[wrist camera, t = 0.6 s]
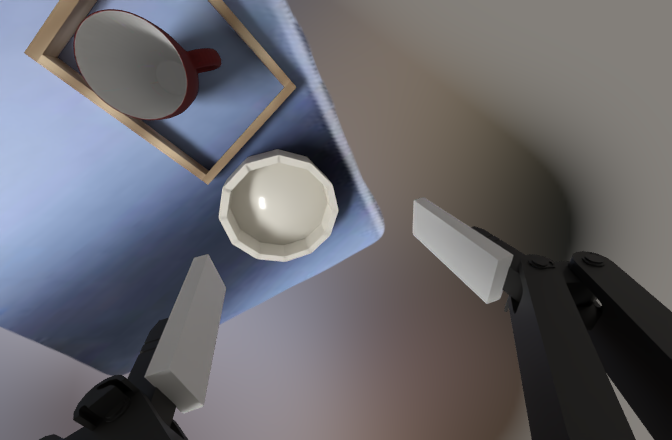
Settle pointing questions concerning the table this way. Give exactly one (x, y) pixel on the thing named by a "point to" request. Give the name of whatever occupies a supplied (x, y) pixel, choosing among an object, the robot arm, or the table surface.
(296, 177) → the bowl
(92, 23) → the mug
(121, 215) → the table surface
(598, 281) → the robot arm
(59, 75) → the frame tray
